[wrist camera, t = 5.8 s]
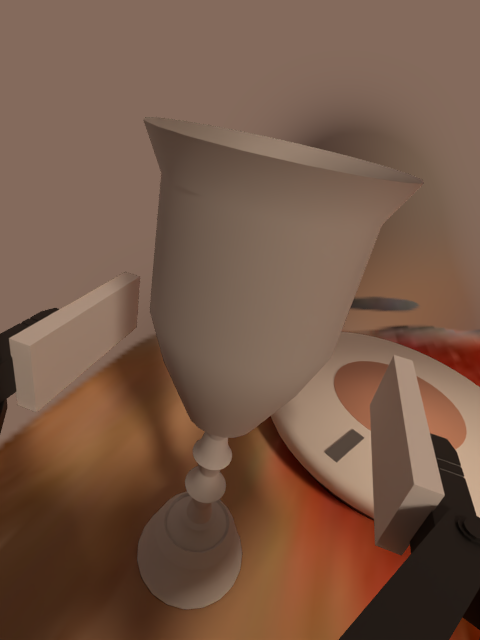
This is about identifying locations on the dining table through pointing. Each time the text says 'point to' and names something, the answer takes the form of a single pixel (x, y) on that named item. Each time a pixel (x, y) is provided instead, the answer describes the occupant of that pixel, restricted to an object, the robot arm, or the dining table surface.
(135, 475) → the dining table surface
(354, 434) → the turntable
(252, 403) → the chalice
